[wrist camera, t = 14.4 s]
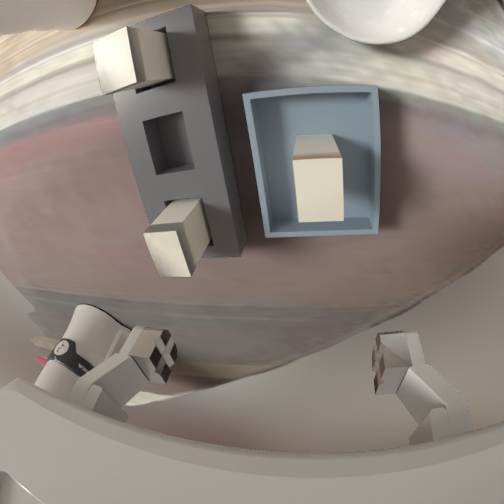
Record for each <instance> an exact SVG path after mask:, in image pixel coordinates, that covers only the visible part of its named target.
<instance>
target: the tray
mask: <svg viewBox="0 0 504 504" xmlns="http://www.w3.org/2000/svg"><path fill="white" fill-rule="evenodd" d="M242 96H243V102H244V108H245V114H246V120H247V126H248V132H249V137H250V144H251V150H252V156H253V162H254V168H255V174H256V180H257V187H258V193H259V199H260V206H261V212H262V218H263V225H264V231H265V238H274V237H301V236H330V235H362V234H378V227H379V211H380V187H381V138H380V114H379V99H378V86H373V85H321V86H304V87H291V88H280V89H271V90H263V91H255V92H249V93H245V94H242ZM317 134H332V136H333V138H334V140H335V142H336V145H337V147H338V149H339V152H340V154H341V156H342V167H343V200H344V221H324V222H299V220H298V209H297V198H296V188H295V179H294V169H293V154H294V148H295V142H296V137H297V136H300V135H317Z"/></svg>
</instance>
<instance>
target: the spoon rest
mask: <svg viewBox="0 0 504 504" xmlns="http://www.w3.org/2000/svg"><path fill="white" fill-rule="evenodd" d="M445 1H446V0H306V2H307V3H308V5H309V7H310V8H311V9H312V11H313V12H314V13H315V15H316V16H317V17H318V18H319V19H320V20H321V21H322V22H323V23H324V24H325V25H327V26H328V27H329V28H331V29H332V30H334V31H335V32H337V33H338V34H340V35H342V36H344V37H346V38H348V39H351V40H353V41H357V42H360V43H365V44H374V45H384V44H393V43H397V42H401V41H404V40H406V39H409V38H410V37H412V36H414V35H415V34H417V33H418V32H419V31H421V30H422V29H423V28H424V27H425V26H426V25H427V24H428V23H429V22H430V21H431V20H432V19H433V18H434V16H435V15H436V14H437V12H438V11H439V10H440V8H441V7H442V6H443V4H444V3H445Z"/></svg>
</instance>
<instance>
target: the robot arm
mask: <svg viewBox="0 0 504 504" xmlns="http://www.w3.org/2000/svg"><path fill="white" fill-rule="evenodd" d="M170 337H171V334H170V332H169V330H166V329H158V328H151V327H143V326H135V327H134V328H133V329H132V331H131V330H130V329H128V328H126V327H124V326H122V325H120V324H119V323H118V322H116V321H115V320H114V319H113V318H112V317H110V316H109V315H108V314H106V313H105V312H103V311H101V310H99V309H97V308H95V307H93V306H90V305H84V304H82V305H78V306H77V307H76V308H75V312H74V314H73V317H72V320H71V322H70V324H69V326H68V328H67V330H66V332H65V334H64V336H63V338H62V339H61V340H60V341H59V343H58V344H57V345H56V346H55V347H54V349H53V351H52V352H51V354H50V355H49V357H48V359H47V361H48V362H47V364H46V366H45V367H44V369H43V370H42V372H41V374H40V375H39V377H38V378H37V380H36V382H35V384H32V383H30V382H28V381H27V380H25V379H22V378H18V379H15V380H14V381H12V382H10V383H9V384H7V385H6V386H4V387H3V388H2V389H0V504H504V421H502V422H499V423H497V424H494V425H491V426H488V427H485V428H482V429H478V430H475V431H474V429H473V424H472V419H471V414H470V409H469V405H468V401H467V400H466V399H465V398H464V397H463V396H462V395H461V394H460V393H459V392H458V391H457V390H456V389H455V388H454V387H453V386H452V385H451V384H450V383H448V381H446V379H444V377H442V376H441V375H440V374H439V373H438V372H437V371H436V370H435V369H434V368H433V367H432V366H431V365H429V364H428V365H426V362H425V358H424V354H423V350H422V347H421V343H420V339H419V336H418V332H417V331H416V330H409V331H395V332H383V333H378V334H377V337H376V346H374V348H373V354H372V368H373V371H374V372H375V373H376V375H375V378H374V386H375V395H377V394H393V393H396V395H397V396H398V397H399V399H400V400H401V402H402V403H403V404H404V405H405V407H406V408H407V410H408V411H409V412H410V414H411V415H412V416H413V418H414V419H415V420H416V421H417V423H418V424H419V426H418V428H417V429H416V430H415V431H414V432H413V434H412V435H411V436H410V437H409V446H403V447H397V448H389V449H380V450H370V451H358V452H341V453H340V452H338V453H294V452H275V451H262V450H252V449H243V448H235V447H227V446H221V445H215V444H209V443H203V442H197V441H193V440H188V439H183V438H179V437H175V436H170V435H166V434H162V433H159V432H155V431H151V430H147V429H144V428H140V427H137V426H134V425H130V424H127V423H126V421H127V419H128V415H127V413H126V412H125V411H124V410H123V409H122V408H121V407H123V406H124V405H125V404H126V403H127V402H128V401H129V400H130V399H131V398H133V397H134V396H135V395H136V394H137V393H138V392H139V391H140V390H141V389H142V388H144V387H145V386H146V385H147V384H148V383H149V381H151V382H157V383H163V384H166V383H167V381H168V378H169V376H170V373H171V369H170V366H172V365H173V364H174V363H175V361H176V359H177V346H176V344H175V342H174V341H172V340H171V339H170Z"/></svg>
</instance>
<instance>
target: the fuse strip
mask: <svg viewBox="0 0 504 504" xmlns="http://www.w3.org/2000/svg"><path fill="white" fill-rule="evenodd" d="M131 27H134V28H140V29H146V30H152V31H157V32H162V33H167V37H168V43H169V48H170V53H171V59H172V64H173V69H174V74H175V80H171V81H168V82H165V83H161V84H158V85H155V86H149V87H143V88H137V89H132V90H127V91H122V92H117V93H113V96H114V100H115V104H116V109H117V113H118V117H119V121H120V125H121V129H122V133H123V137H124V141H125V144H126V148H127V152H128V155H129V159H130V162H131V166H132V169H133V173H134V176H135V179H136V183H137V186H138V189H139V192H140V195H141V198H142V202H143V205H144V208H145V211H146V214H147V217H148V220H149V223H150V225H151V224H152V223H153V222H154V220H155V219H156V218H157V217H158V216H159V215H160V214H161V213H162V212H163V211H164V210H165V209H166V207H167V206H168V205H169V204H170V203H171V202H172V201H173V200H177V199H186V198H195V197H202V200H203V204H204V208H205V212H206V216H207V220H208V224H209V228H210V232H211V236H212V238H211V240H210V242H209V244H208V246H207V247H206V249H205V251H204V253H203V255H202V257H201V258H213V257H241V254H242V251H243V248H244V246H245V243H246V240H247V234H246V228H245V223H244V218H243V213H242V207H241V202H240V197H239V191H238V186H237V181H236V175H235V170H234V165H233V159H232V154H231V149H230V144H229V138H228V133H227V128H226V122H225V117H224V111H223V106H222V101H221V95H220V90H219V85H218V79H217V74H216V69H215V63H214V58H213V52H212V47H211V42H210V36H209V31H208V25H207V20H206V15H205V12H204V11H202V10H200V9H198V8H196V7H194V6H193V5H188V6H184V7H181V8H178V9H175V10H172V11H169V12H166V13H163V14H161V15H158V16H155V17H153V18H150V19H148V20H145V21H143V22H140V23H138V24H135V25H133V26H131Z"/></svg>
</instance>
